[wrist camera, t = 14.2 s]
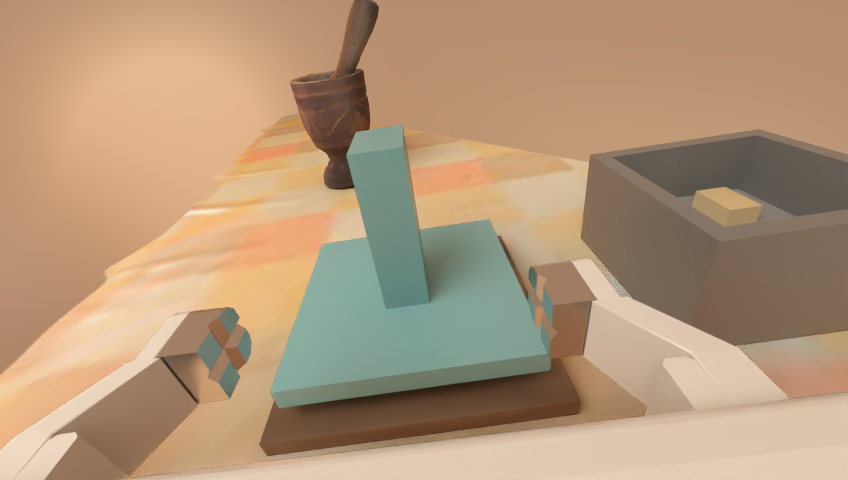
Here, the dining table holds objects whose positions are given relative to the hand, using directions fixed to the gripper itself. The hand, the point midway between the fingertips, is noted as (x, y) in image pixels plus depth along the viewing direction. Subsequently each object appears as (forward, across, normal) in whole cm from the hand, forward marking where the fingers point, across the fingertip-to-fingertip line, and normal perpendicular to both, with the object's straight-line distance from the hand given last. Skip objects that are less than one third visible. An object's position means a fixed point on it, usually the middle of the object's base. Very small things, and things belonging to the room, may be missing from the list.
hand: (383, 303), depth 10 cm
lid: (+10, 0, -9) cm, 13 cm away
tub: (+11, +20, -10) cm, 25 cm away
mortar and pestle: (+38, -7, -11) cm, 40 cm away
